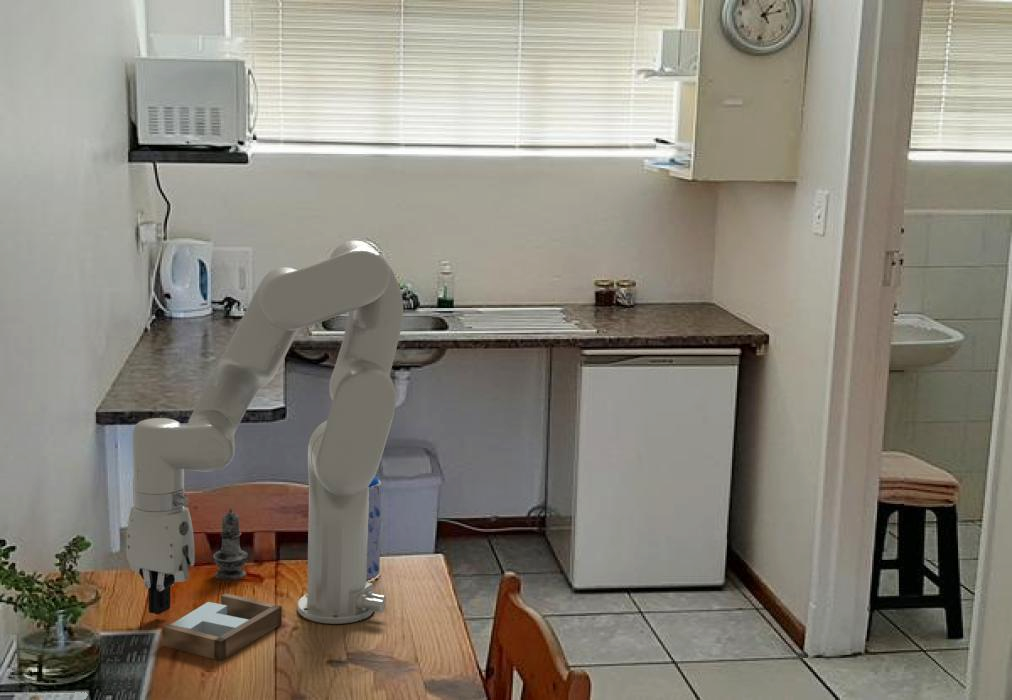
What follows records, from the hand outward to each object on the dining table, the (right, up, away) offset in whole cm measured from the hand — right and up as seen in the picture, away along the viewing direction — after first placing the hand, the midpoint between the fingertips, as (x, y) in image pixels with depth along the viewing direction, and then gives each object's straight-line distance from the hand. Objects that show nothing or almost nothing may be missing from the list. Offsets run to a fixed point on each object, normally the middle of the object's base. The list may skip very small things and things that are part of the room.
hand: (159, 610), depth 194 cm
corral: (+11, -3, -5) cm, 12 cm away
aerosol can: (+29, +1, +22) cm, 36 cm away
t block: (+10, -3, -4) cm, 11 cm away
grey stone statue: (+7, +2, +20) cm, 21 cm away
